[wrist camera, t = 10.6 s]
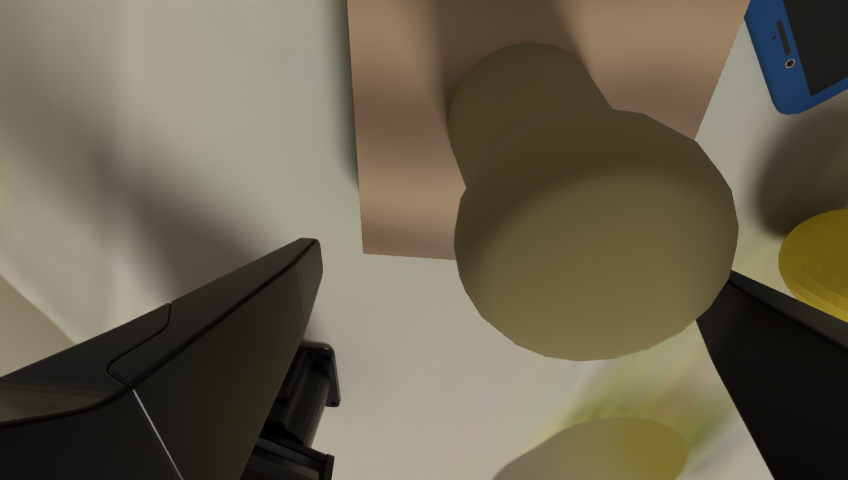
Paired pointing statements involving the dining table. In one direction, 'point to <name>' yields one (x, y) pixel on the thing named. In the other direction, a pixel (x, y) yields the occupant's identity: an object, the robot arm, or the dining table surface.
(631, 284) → the olive-brown rounded piece
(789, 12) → the cell phone
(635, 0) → the walnut base
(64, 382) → the robot arm
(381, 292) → the dining table surface
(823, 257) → the lemon
